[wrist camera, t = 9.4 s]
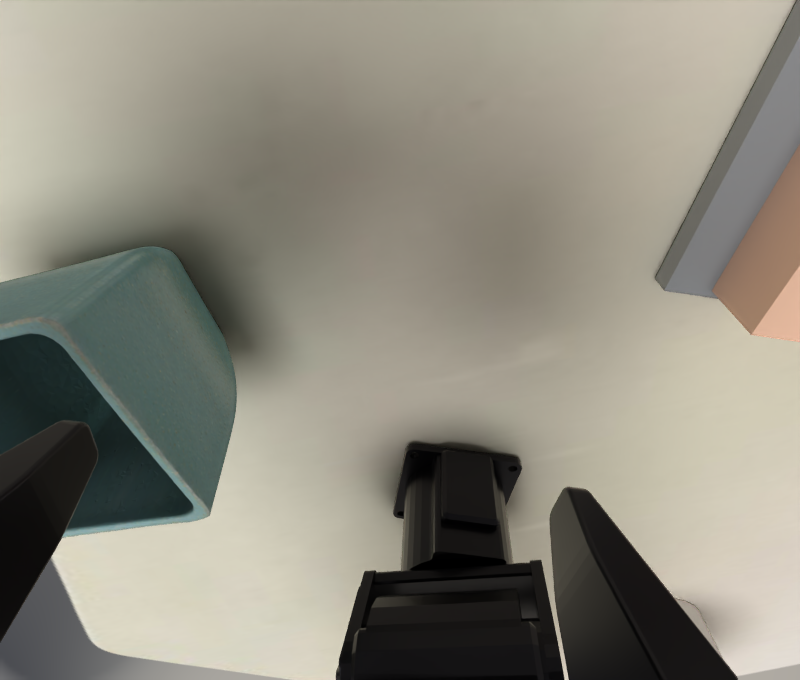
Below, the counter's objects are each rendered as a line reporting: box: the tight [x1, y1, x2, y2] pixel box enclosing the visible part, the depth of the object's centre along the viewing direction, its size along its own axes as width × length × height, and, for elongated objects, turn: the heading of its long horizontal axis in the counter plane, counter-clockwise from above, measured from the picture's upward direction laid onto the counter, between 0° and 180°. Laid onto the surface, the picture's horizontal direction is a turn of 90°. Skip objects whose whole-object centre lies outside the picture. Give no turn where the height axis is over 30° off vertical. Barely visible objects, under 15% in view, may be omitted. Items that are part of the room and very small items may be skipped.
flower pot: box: [0, 246, 237, 538], centre depth 19 cm, size 9×9×9 cm
